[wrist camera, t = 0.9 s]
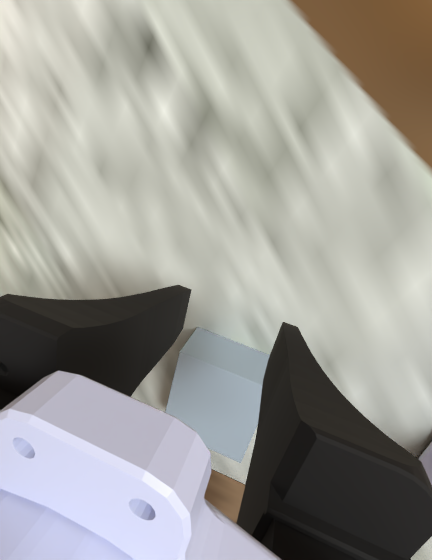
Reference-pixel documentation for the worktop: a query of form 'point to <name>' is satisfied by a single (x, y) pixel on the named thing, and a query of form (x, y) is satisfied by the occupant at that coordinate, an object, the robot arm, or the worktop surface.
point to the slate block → (218, 391)
